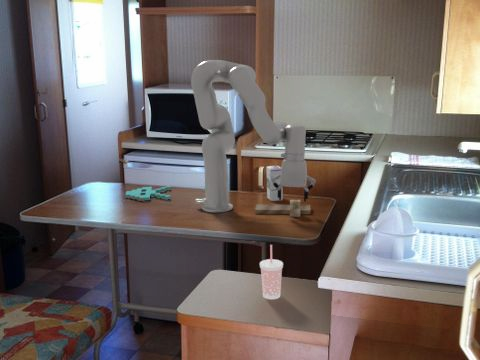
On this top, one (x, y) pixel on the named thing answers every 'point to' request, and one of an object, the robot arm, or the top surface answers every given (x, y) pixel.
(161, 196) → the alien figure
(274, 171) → the syrup box
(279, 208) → the board
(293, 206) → the wooden mallet
